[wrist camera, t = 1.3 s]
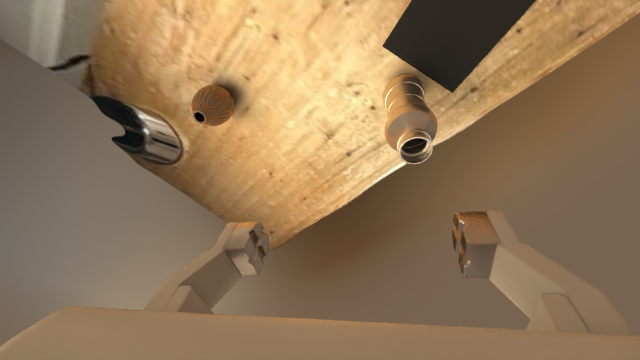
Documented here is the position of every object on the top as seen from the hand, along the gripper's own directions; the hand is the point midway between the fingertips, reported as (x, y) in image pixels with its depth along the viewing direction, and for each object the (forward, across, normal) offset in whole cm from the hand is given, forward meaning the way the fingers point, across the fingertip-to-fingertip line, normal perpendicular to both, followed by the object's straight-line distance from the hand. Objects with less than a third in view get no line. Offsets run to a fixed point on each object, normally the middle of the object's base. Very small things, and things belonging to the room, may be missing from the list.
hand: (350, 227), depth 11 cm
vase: (+40, +29, +4) cm, 49 cm away
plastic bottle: (+40, -5, +8) cm, 41 cm away
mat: (+40, -15, -3) cm, 42 cm away
